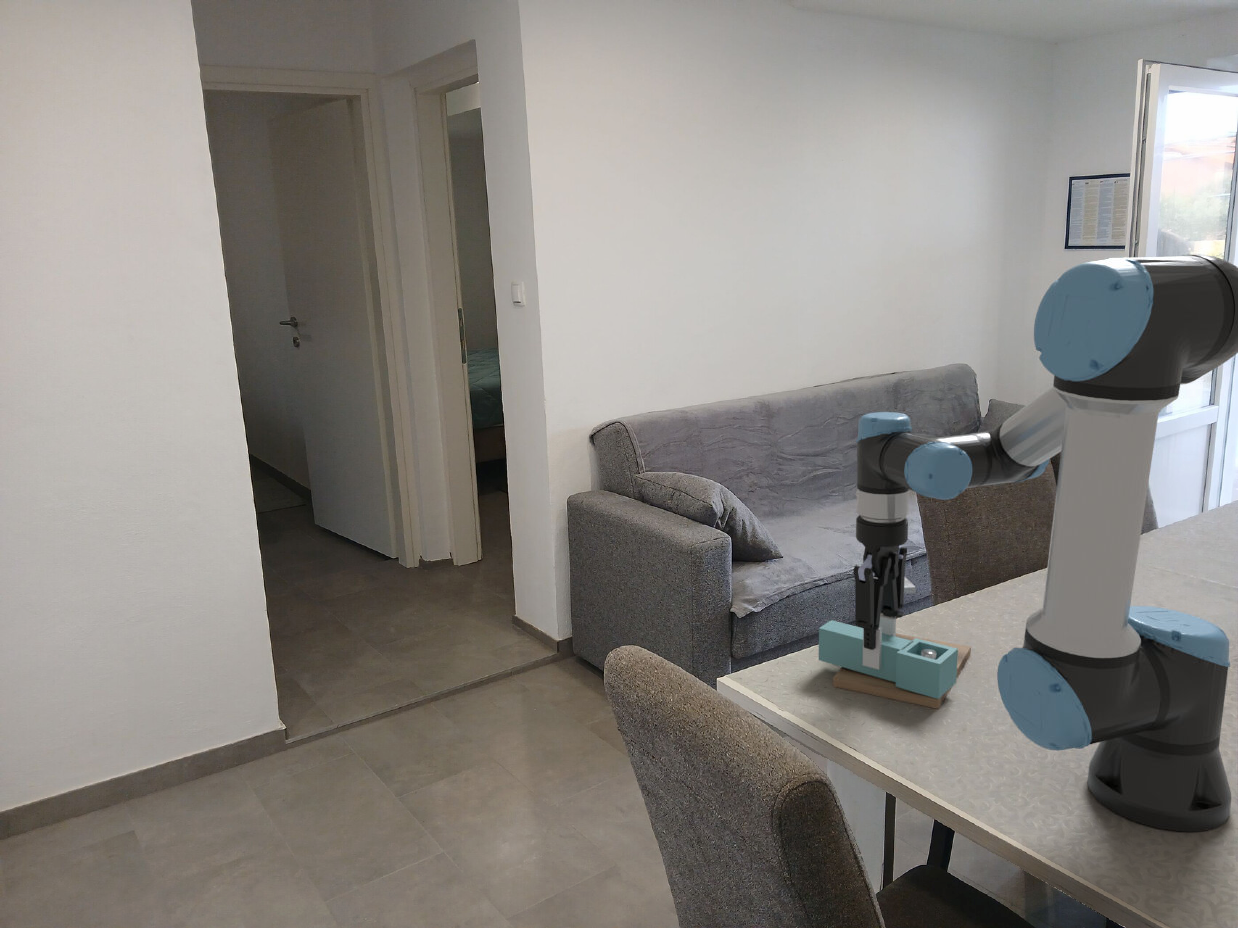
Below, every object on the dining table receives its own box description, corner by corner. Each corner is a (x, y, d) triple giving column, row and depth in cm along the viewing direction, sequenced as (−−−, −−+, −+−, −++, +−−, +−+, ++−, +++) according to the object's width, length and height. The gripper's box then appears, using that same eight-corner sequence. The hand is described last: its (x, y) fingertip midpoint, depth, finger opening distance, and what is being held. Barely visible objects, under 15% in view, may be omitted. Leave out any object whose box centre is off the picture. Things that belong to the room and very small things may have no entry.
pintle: (932, 699, 143) (934, 656, 141) (918, 696, 144) (919, 653, 142) (936, 693, 144) (938, 650, 143) (921, 690, 146) (923, 648, 144)
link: (956, 682, 144) (957, 648, 143) (938, 698, 139) (940, 664, 138) (834, 648, 157) (835, 617, 156) (814, 662, 152) (814, 630, 151)
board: (938, 708, 140) (938, 699, 140) (832, 686, 148) (833, 677, 148) (970, 655, 157) (970, 646, 157) (874, 637, 166) (874, 629, 165)
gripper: (884, 500, 152) (881, 637, 157) (831, 525, 139) (830, 674, 144) (929, 506, 147) (925, 648, 152) (879, 534, 134) (876, 687, 139)
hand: (878, 660), depth 148 cm, fingers closed on link, 4 cm apart
